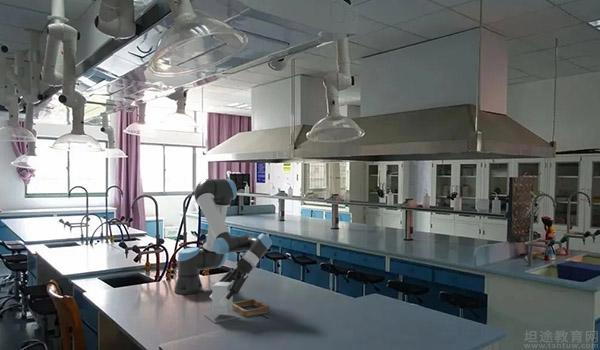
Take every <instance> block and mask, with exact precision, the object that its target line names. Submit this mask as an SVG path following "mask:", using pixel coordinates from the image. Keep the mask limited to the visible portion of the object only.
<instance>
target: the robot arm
mask: <svg viewBox="0 0 600 350" xmlns="http://www.w3.org/2000/svg"><path fill="white" fill-rule="evenodd" d="M237 193H238V189H237V186H236V183H235V181H233V179H229V178H228V179H227V178H206V179H205V178H204V179H203V180H201V181H200V182H199V183H198V184H197V185H196V187H195V189H194V201H195V202H196V204H197V205H198V206H199V207H200V208H201V211H202V213H203V216H204V217H205V220H206V222H207V225H208V229H207V235H206V242H205V243H203V244H202V249H200V247H196V246H195V247H187V248H183V249H181V250H180V251H179V252H178V256H177V279H176V282H175V285H174V288H173V289H174V290H173V291H174V293H175V292H176V293H175V294H179V295H191V294H192V295H193V294H194V295H195V294H197V293H201V292H203V283H202V281H201V277H200V271H205V270H212V269H213V270H214V269H217V268H218V269H220V268H222V266H224V265H225V262H226V257H227V255H226V254H230V253H232V254H233V253H239V252H244V254H243V255H242V256H241V258H239V259H238V261H237V263H236V266H237V267H235V268H234V267H231V268H230V270H228V272H227V273H226V274H225V275H223V277H222V278H221V279H219V280H218V282H232V281H233V285H232V287H231V289H229V290H230V291H229V290H228V292H227V293H226V294H225V296H224V297H223V298H222V299H221V301H220V302H219V303H220V304H221V305H222V306H224V305H225V304H226V303H227V302H228V300H229V299H230V298H231V297H232V295H238V293H240V291H241V289H242V287H243V286H244V285H245V284H244V283H245V282H246V281H247V279H248V278H249V274H250V273H251V272H252V271H253V269H254V267H255V266H257V264H258V263H259V261H260V260H261V259H262V257H264V255H265V254H266V253H267V252H268V250H269V249H270V247H271V246H272V245H273V240H272V239H271V238H270V237H269V236H268V235H267V234H265V233H260V234H259V235H258V236H253V235H251V234H246V233H243V234H241V235H238V236H232V235H231V234H230V231H229V229H228V227H227V225H226V223H225V222H226V217H227V213H228V207H230V206H231V204H232V201H233V200H235V199H236V197H237ZM209 298H210V299H211V300H212V293H211V294H210V295H209Z"/></svg>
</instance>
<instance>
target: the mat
mask: <svg viewBox="0 0 600 350" xmlns="http://www.w3.org/2000/svg"><path fill="white" fill-rule="evenodd" d="M203 316H204V317H206V318H207V319H208V320H209V321H211V322H212V323H214V324H220V323H225V322H228V321H233V320H238V319H240V318H241V317H240V316H238V315H237V314H235V313H233V312H232V311H230V312H229V313H228V314H216V313H212V312H211V313H207V314H204V315H203Z"/></svg>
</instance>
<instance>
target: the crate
mask: <svg viewBox="0 0 600 350" xmlns="http://www.w3.org/2000/svg"><path fill="white" fill-rule="evenodd" d="M248 306H249V307H250V306H255V307H256V308H252V309H244V307H248ZM231 311H234V312H236V313H237V314H238V315H241V316H242V317H244V318H248V317H253V316H256V315H257V316H258V315H262V314H267V313H270V306H269V305H267V304H265V303H263V302H261V301H259V300H257V299H255V298H251V299H247V300H240V301H236V302H233V309H232V310H231Z"/></svg>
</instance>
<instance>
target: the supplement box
mask: <svg viewBox="0 0 600 350" xmlns="http://www.w3.org/2000/svg"><path fill="white" fill-rule="evenodd" d="M233 282H234V281H233ZM233 282H232V281H231V282H219V281H218V282H215V284H213V285H212V289H211V290H212V291H211V292H212V293H211V294H212V299H211V314H212V313H216V314H228V313H229V312H232V311H233V310H232V309H233V303H234V301H233V299H234V297H233V295H234V294H233V295H232V297H231V298H230V299H229V300H228V302H227V303H226V304H225V305H224V306H222V305H221V304H220V303H219V302H220V301H221V299H222V298H223V297H224V296H225V294H226V293H227V292H228V290H229V289H231V287H232V285H233ZM229 291H230V290H229Z"/></svg>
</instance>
